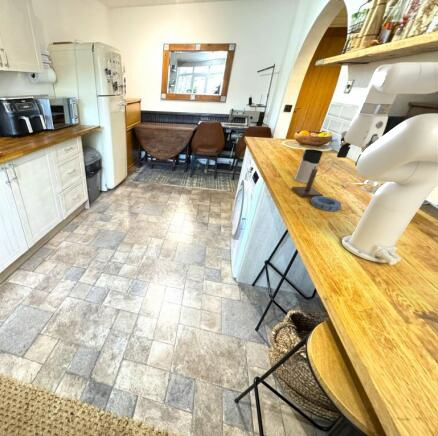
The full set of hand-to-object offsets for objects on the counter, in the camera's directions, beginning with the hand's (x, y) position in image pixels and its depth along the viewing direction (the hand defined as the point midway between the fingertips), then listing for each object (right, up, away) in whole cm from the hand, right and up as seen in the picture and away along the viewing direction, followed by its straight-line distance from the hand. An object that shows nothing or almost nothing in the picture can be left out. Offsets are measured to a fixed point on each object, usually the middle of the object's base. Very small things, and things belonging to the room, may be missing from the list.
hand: (350, 161), depth 86 cm
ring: (+1, -15, +14) cm, 20 cm away
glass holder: (+10, -2, +37) cm, 39 cm away
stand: (0, -9, +24) cm, 26 cm away
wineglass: (+23, -3, +29) cm, 37 cm away
